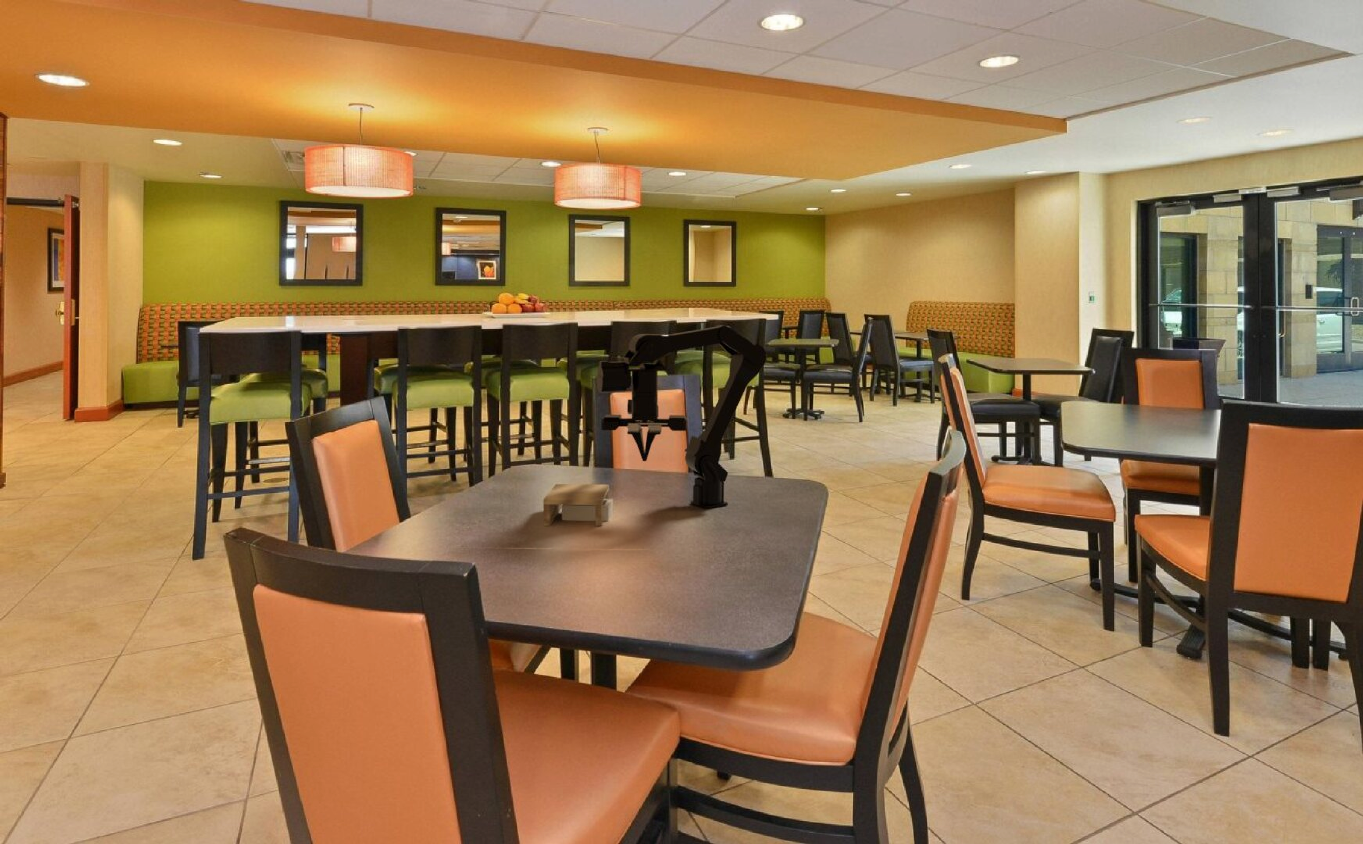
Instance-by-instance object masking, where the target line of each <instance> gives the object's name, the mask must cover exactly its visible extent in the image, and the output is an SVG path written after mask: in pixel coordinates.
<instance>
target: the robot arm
mask: <svg viewBox="0 0 1363 844" xmlns="http://www.w3.org/2000/svg"><path fill="white" fill-rule="evenodd" d="M717 344H718V345H720V346H721V348H722V349H723V350H724V351H725V352H726V353H727V354H729V355H730V356H731V359H730V363H729V375H728V378H727V381H726V383H725V385H724V387H723V390H722V391H721V394H720V396H719V398H718V399H717V403H716V405H715V407H714V409H713V410H712V413H711V415H710V417H709V420H708V421H707V424H706V426H705V429H704V430H703V432H702V433H701V434H700V435H699V436H698V437H697V436H695V435H692V436H691V437H690V440H689V444H688V445H687V447H686V448H685V449H684V452H685V456H684V460H685V462H686V465H687V467H688V468H689V469H691V471H692V473H693V475H694V476H696V477H695V478H694V485H693V486H692V491H693V492H692V500H690V504H693V505H695V506H698V507H701V508H703V509H711V508H717V507H724V506H728V505H729V502H727V501H725V482H726V480H727V477H728V474H729V471H727V469H725V468H724V467H723V466H722V465H721V464H720V463H719V462H720V460H721V459H720V458H721V455H722V443H723V439H724V436H725V434H726V432H727V430H728V428H729V425H730V423H731V421H732V419H733V417H734V414H735V413H736V411H737V409H738V406H739V403H741V399H742V397H743V396H744V394H745V391H746V389H747V387H748V385H749V383H750V382H752V380H754V379H755V377H757V376H758V375H759V374H760V371H761V370H762V369H763V367H764V366H765V364H766V361H767V358H768V355H767V352H766V349H765V348H764V347H763V346H762V345H760V344H757V343H752V342H751V341H750V340H749V339H747V338H746V337H744V336H742V335H741V334H739V333H738V332H736V331H735V330H733V328H732V327H731V326H729V325H720V324H719V325H716V326H714V327H706V328H700V329H694V330H688V331H684V332H683V331H682V332H677V333H671V334H661V333H660V334H657V333H656V334H653V333H639V334H636V335H634V336H633V337H632V338H631V340H630V341H629V345H628V350H627V351H626V352H625V354H624V355H623V357H622V358H621V359H620V361H607V360H599V366H598V369H597V375H596V386H597V388H596V389H597V390H598V393H600V394H601V393H626V391H627V390H628V389H630V388H631V399H630V398H629V399H627V404H626V405H627V406H626V407H627V408H626V409H627V414H628V415H631V418H628V417H627V418H625V417H624V418H622V414H606V415H605V416H603V417H602V419H601V422H600V423H601V424H600V425H601V431H616V430H617V429H618V428H619V427H623V428H624V427H625V428H627V435H632V438H633V440H634V442H635V444H636V446H637V448H638V451H639V455H640V456H641V457H640V458H641V459H642V462H647V460H648V457H649V454H650V450H651V448H652V444H653V442H654V440H655V437H656V435H658V436H659V435H661V434H662V429H663V428H669V430H671V431H672V432H686V431H688V429H687V428H688V418H687V416H686V415H683V414H682V415H681V414H674V415H672V414H669V416H668V418H659V405H658V402H659V401H658V400H659V399H658V397H659V396H658V393H659V392H658V390H659V389H658V386H659V385H658V384H659V382H658V378H659V377H658V375H659V374H658V372H665V371H667V370H668V368H667V367H666V366H665V365H664V364H663V363H662V362H661V360H660V358H663V357H665V356H668V355H670V354H672V353H674V352H678V351H684V350H689V349H695V348H696V349H697V348H701V347H706V346H713V345H717ZM652 361H653V363H652ZM645 362H646V363H645ZM642 427H643V428H644V427H645V428H648V429H647V432H646V440H645V443H644V437H643V436H644V433H643V428H642Z"/></svg>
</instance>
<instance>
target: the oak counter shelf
mask: <svg viewBox="0 0 1363 844" xmlns="http://www.w3.org/2000/svg"><path fill="white" fill-rule="evenodd" d="M604 499H610V484H590V483H589V484H587V483H585V484H581V483H580V484H579V483H578V484H577V483H575V484H574V483H573V484H572V483H556V484H554V486H553V487H552V489H550V490H549V492H548V493H547V494H546V495H545V497H544V498H543V500H542V503H543V505H542V506H543V526H551V524H552V523H553V521H554V520H555V519H556V517H557V516H558V514H559V512H561V511H562V505H596V521H595V527H602V526H603V521H602V502H603V500H604Z"/></svg>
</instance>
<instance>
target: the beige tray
mask: <svg viewBox="0 0 1363 844" xmlns="http://www.w3.org/2000/svg"><path fill="white" fill-rule="evenodd" d="M613 514H614V499H613V498H609V499H604V500H603V502H602V522H609V521H610V519H611V518H612V516H613ZM561 520H562V521H583V522H584V521H587V522H592V521H593V522H596V505H562V508H561Z"/></svg>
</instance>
